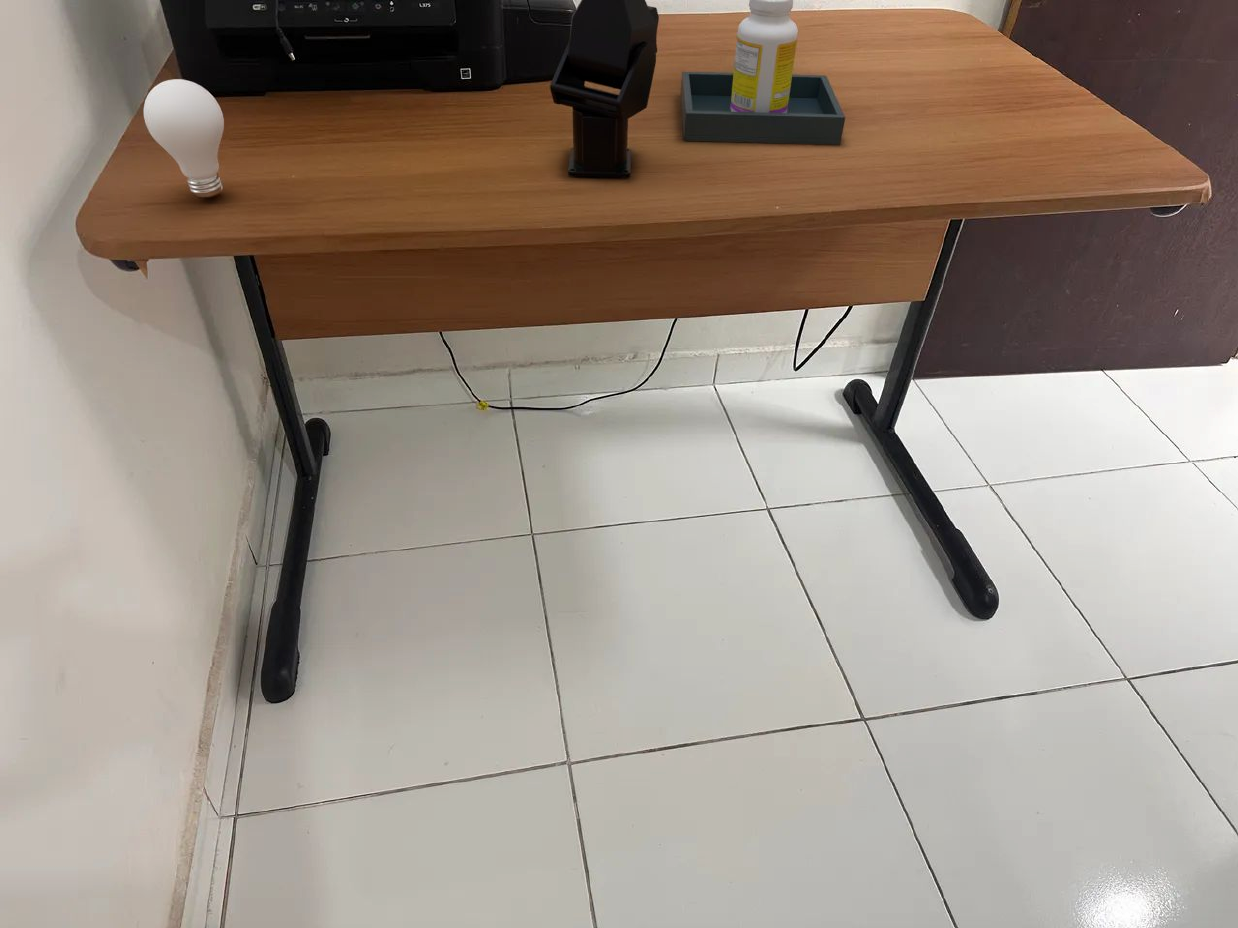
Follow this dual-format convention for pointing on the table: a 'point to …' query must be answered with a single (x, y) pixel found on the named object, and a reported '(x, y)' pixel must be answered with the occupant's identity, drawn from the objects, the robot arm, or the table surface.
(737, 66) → the supplement bottle
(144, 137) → the table surface
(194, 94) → the light bulb
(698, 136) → the tray
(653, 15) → the robot arm
